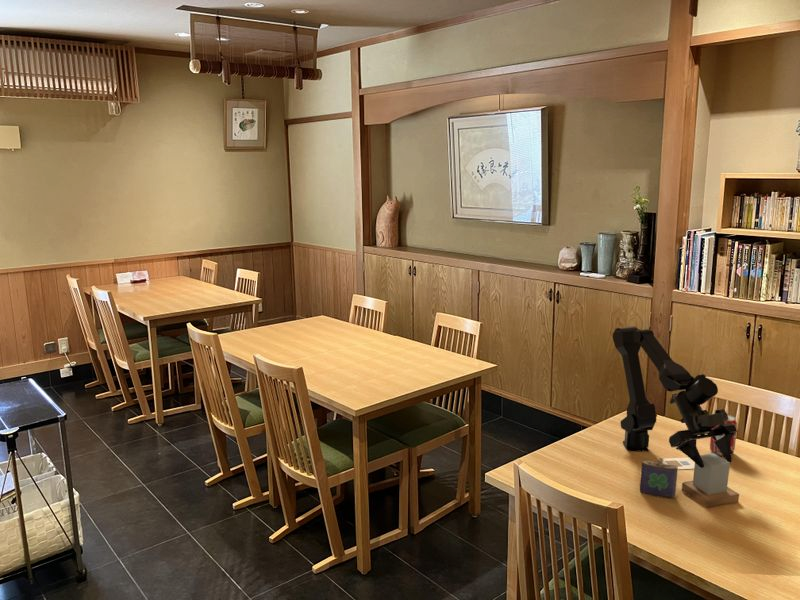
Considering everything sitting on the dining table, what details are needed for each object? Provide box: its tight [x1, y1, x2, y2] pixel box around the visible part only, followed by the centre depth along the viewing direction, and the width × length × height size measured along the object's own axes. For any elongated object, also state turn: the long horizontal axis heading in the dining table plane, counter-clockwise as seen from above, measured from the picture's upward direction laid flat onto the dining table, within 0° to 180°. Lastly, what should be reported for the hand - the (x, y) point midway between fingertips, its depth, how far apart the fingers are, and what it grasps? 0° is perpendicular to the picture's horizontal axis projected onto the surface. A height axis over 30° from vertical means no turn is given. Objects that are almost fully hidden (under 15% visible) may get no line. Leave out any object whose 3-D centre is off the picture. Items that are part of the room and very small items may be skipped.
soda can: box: [709, 413, 738, 457], centre depth 204 cm, size 7×7×12 cm
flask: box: [639, 457, 678, 499], centre depth 179 cm, size 9×3×11 cm, turn 68°
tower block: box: [692, 452, 731, 495], centre depth 177 cm, size 6×6×8 cm
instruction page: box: [657, 457, 695, 470], centre depth 197 cm, size 10×7×1 cm
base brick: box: [681, 480, 740, 509], centre depth 179 cm, size 10×10×3 cm
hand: (716, 465), depth 175 cm, fingers open, 9 cm apart
